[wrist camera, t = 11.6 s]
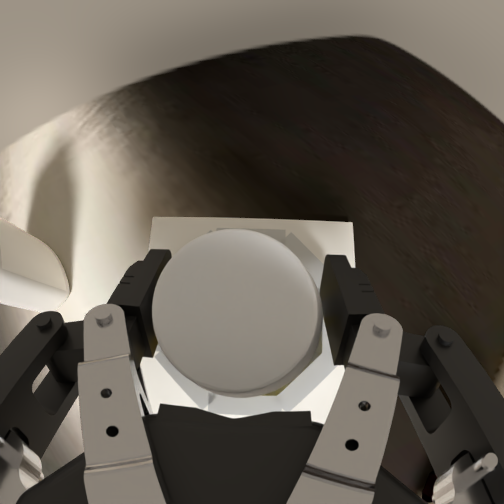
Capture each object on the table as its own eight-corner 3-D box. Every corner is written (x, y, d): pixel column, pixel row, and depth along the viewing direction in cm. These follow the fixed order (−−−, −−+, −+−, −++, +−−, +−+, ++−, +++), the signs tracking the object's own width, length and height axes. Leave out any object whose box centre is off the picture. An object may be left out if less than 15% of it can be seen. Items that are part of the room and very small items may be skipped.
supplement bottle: (190, 282, 17) (120, 217, 8) (287, 268, 17) (324, 185, 8) (204, 379, 16) (142, 428, 6) (304, 364, 16) (366, 397, 6)
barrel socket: (142, 416, 16) (123, 428, 13) (155, 220, 19) (140, 200, 16) (349, 424, 15) (366, 438, 13) (349, 225, 19) (365, 206, 16)
